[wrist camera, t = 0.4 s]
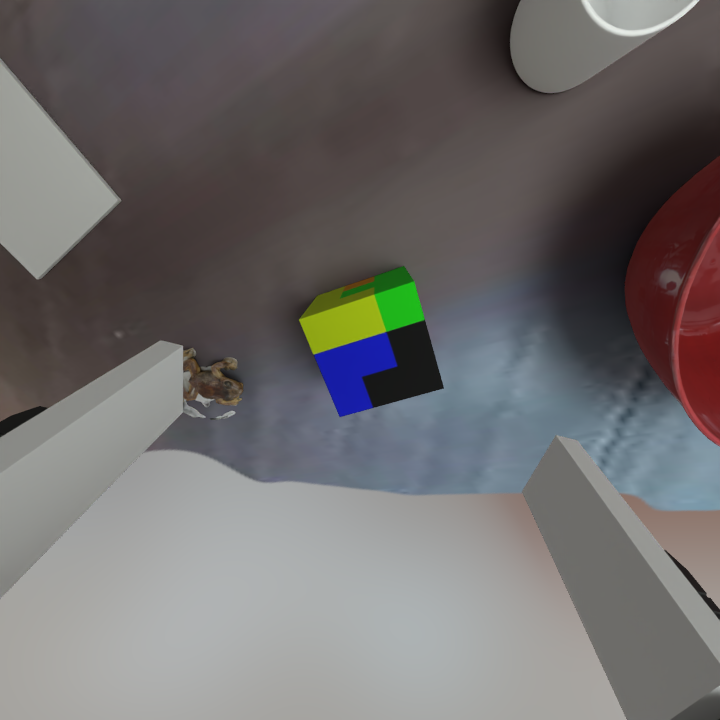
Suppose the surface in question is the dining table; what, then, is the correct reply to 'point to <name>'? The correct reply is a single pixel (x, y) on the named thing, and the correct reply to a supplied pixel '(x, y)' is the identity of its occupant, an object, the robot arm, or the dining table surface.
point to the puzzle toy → (372, 342)
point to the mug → (582, 36)
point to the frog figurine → (209, 384)
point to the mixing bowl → (682, 297)
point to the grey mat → (43, 183)
